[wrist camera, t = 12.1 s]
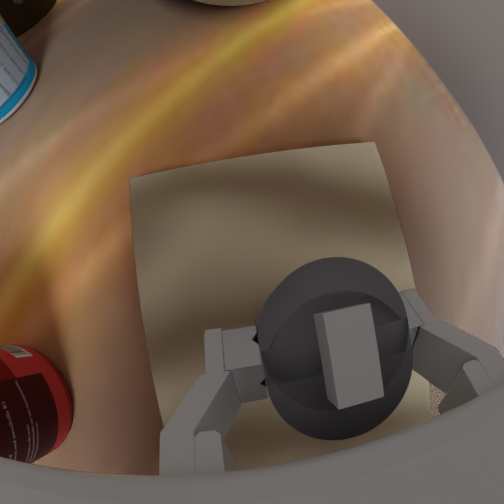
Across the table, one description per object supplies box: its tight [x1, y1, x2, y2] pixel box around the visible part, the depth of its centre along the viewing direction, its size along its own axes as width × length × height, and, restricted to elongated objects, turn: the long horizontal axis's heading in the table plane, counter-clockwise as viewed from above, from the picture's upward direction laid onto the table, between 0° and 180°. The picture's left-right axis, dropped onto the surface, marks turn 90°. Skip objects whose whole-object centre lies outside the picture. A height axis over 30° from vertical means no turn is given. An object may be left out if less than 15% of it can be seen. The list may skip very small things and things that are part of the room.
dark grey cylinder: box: [255, 257, 413, 440], centre depth 10 cm, size 4×4×9 cm
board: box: [129, 142, 432, 470], centre depth 17 cm, size 20×15×2 cm
